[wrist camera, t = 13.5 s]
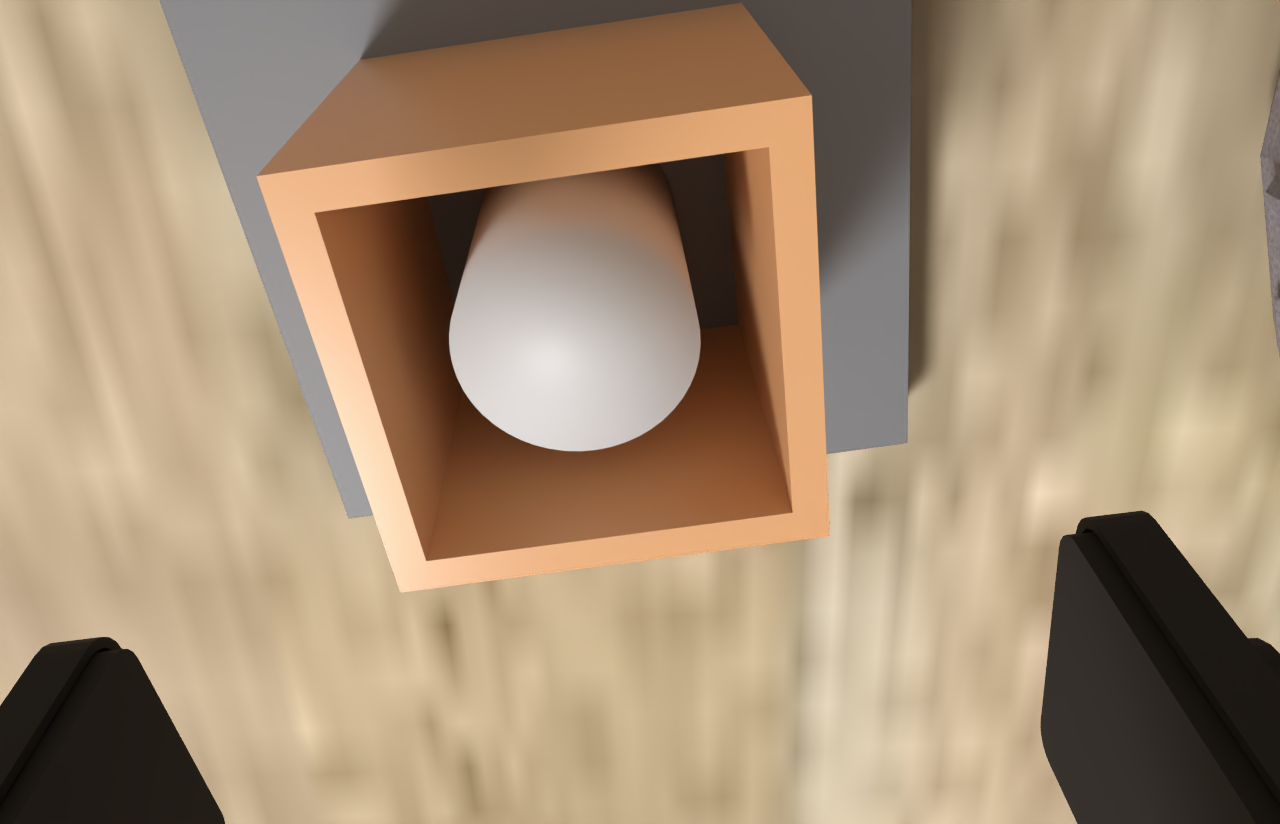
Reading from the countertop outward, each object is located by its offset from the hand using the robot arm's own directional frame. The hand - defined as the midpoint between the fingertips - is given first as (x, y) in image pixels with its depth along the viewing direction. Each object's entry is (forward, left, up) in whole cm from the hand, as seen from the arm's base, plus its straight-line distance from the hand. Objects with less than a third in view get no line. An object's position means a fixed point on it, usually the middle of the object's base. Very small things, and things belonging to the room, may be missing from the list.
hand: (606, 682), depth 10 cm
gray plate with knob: (0, 0, -14) cm, 14 cm away
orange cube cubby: (0, 0, -13) cm, 13 cm away
